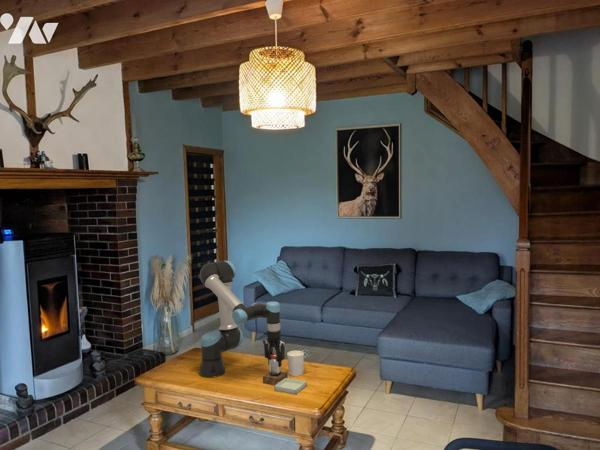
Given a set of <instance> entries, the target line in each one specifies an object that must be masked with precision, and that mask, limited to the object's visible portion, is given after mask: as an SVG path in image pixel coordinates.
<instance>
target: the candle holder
mask: <svg viewBox="0 0 600 450" xmlns="http://www.w3.org/2000/svg"><path fill="white" fill-rule="evenodd" d="M286 355H287V366H288V374H289V376H291V377H300V376H302V375H304V366H305V365H304V362H305V357H304V356H305V352H304V351H301V350H290V351H288V352H287V354H286Z"/></svg>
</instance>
